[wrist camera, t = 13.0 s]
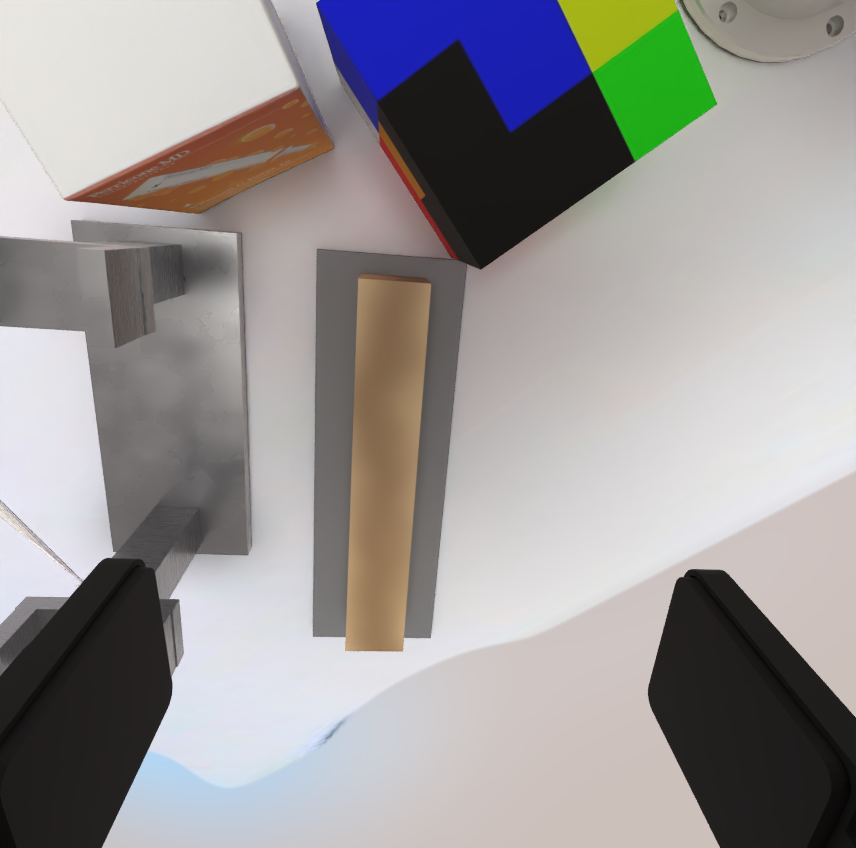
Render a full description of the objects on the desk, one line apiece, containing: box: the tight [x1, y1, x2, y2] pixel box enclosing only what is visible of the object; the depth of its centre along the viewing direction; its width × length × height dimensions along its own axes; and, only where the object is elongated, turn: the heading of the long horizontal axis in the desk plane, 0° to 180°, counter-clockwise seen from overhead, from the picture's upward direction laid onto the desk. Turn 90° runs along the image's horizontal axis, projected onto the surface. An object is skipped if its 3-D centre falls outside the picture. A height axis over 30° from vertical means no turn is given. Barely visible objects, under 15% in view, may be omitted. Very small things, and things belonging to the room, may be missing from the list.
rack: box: [0, 220, 252, 677], centre depth 25 cm, size 8×19×13 cm, turn 176°
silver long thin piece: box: [0, 501, 82, 587], centre depth 35 cm, size 4×1×19 cm
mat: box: [313, 249, 467, 638], centre depth 34 cm, size 8×25×1 cm, turn 176°
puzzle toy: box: [316, 0, 717, 269], centre depth 23 cm, size 10×10×10 cm
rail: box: [345, 273, 431, 651], centre depth 31 cm, size 4×22×4 cm, turn 176°
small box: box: [0, 0, 334, 214], centre depth 21 cm, size 8×6×13 cm
